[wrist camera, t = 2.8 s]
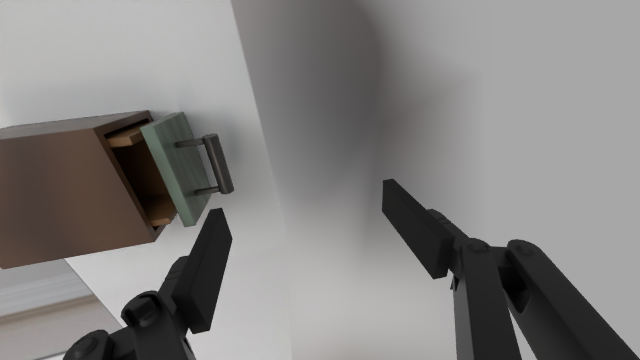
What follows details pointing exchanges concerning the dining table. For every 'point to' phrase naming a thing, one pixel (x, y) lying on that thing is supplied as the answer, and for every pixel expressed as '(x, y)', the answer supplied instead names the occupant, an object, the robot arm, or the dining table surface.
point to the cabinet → (67, 191)
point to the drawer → (169, 168)
